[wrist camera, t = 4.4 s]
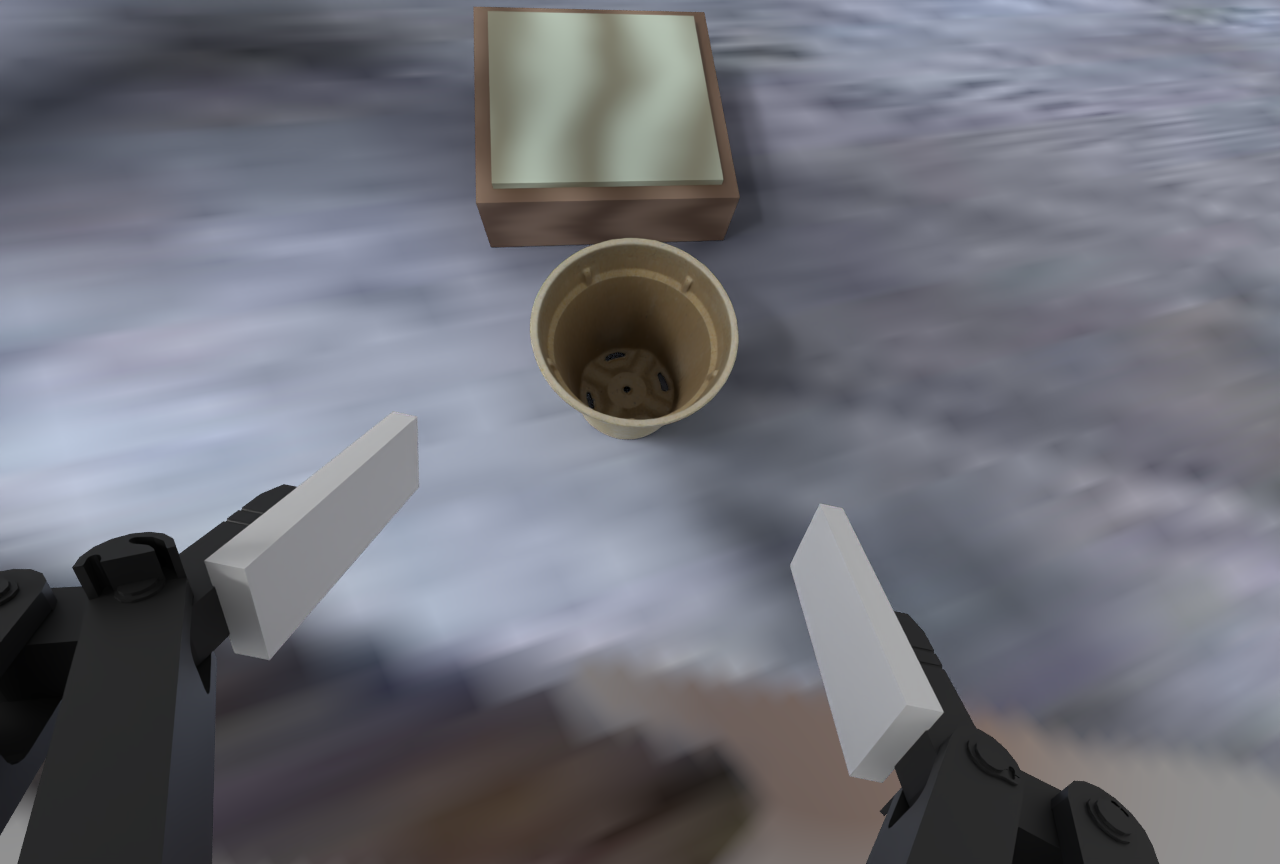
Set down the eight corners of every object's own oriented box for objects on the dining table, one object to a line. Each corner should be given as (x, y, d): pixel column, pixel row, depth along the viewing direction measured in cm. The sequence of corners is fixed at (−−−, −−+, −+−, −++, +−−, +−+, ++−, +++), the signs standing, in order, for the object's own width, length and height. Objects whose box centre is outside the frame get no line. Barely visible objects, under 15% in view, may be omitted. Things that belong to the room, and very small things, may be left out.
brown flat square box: (491, 247, 31) (474, 197, 27) (486, 66, 36) (471, -1, 31) (723, 240, 33) (741, 192, 29) (693, 69, 37) (705, 5, 33)
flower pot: (617, 499, 28) (625, 471, 19) (517, 383, 29) (486, 311, 21) (729, 403, 30) (780, 341, 22) (632, 300, 31) (645, 204, 23)
